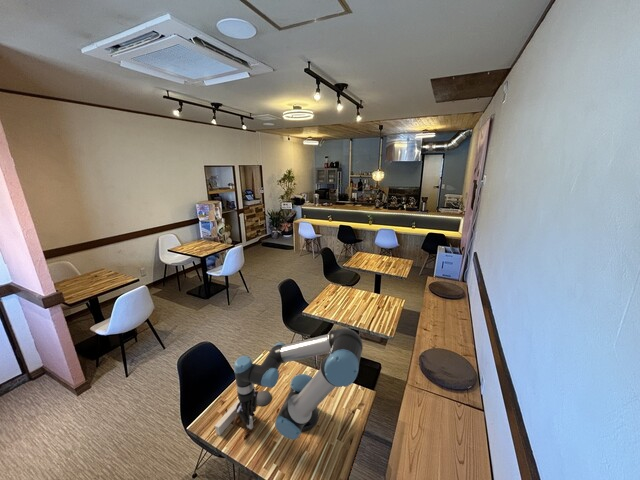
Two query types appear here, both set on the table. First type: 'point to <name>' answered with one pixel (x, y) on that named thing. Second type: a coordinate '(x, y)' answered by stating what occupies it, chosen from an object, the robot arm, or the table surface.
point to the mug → (238, 420)
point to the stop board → (226, 419)
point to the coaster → (263, 398)
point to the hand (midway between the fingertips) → (250, 426)
